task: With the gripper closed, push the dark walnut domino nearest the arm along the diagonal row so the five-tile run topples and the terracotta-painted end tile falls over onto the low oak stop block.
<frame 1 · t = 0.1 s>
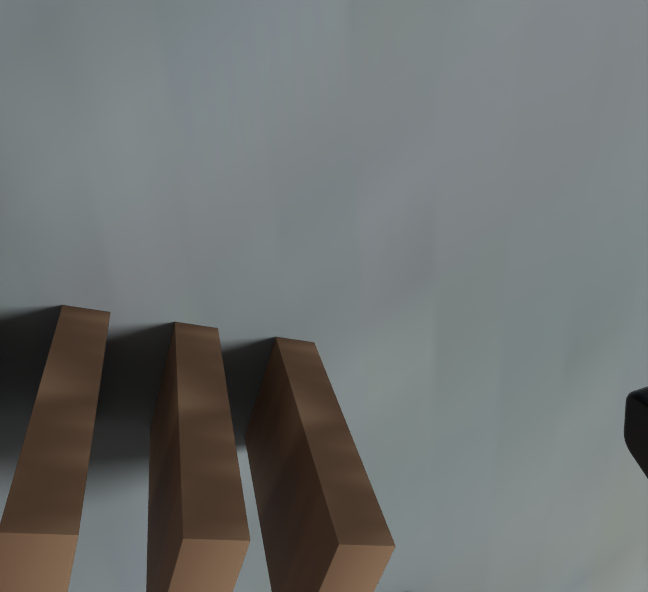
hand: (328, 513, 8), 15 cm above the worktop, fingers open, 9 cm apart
domino 2: (183, 379, 24), on the worktop
domino 1: (278, 391, 25), on the worktop
domino 3: (76, 367, 23), on the worktop
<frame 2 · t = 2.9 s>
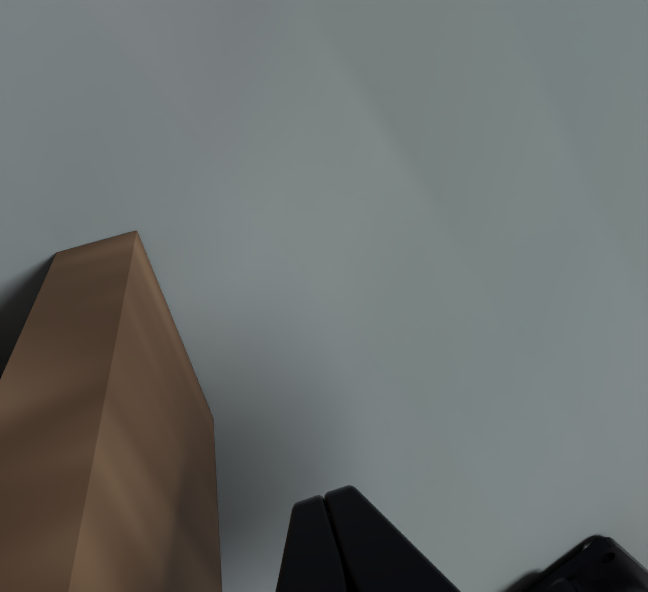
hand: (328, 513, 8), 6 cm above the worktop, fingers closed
domino 1: (142, 343, 13), on the worktop, touching gripper
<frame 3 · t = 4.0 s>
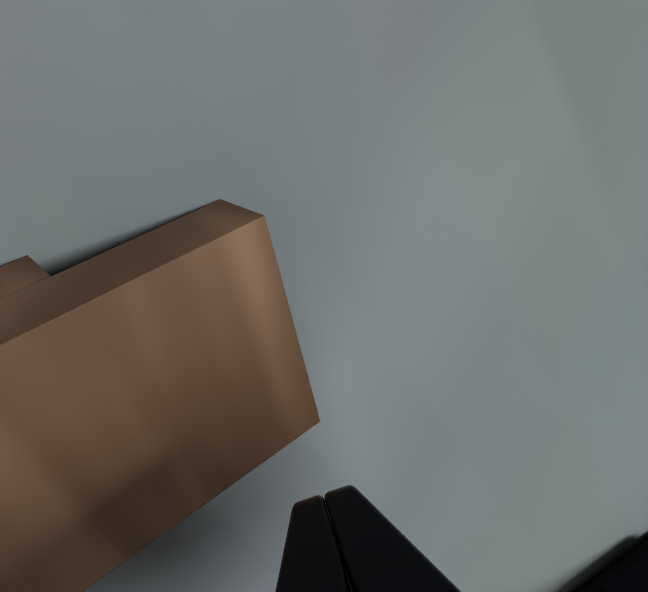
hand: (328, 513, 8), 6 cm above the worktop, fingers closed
domino 2: (91, 372, 13), point 1 cm above the worktop, tilted 64°, touching domino 1, domino 3
domino 1: (272, 316, 13), point 1 cm above the worktop, tilted 64°, touching domino 2
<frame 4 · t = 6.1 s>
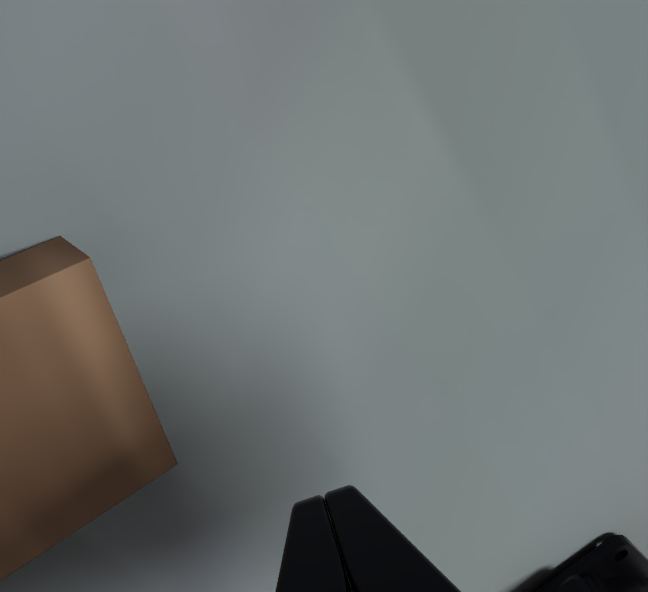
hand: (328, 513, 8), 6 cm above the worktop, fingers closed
domino 1: (122, 356, 12), point 1 cm above the worktop, tilted 64°, touching domino 2
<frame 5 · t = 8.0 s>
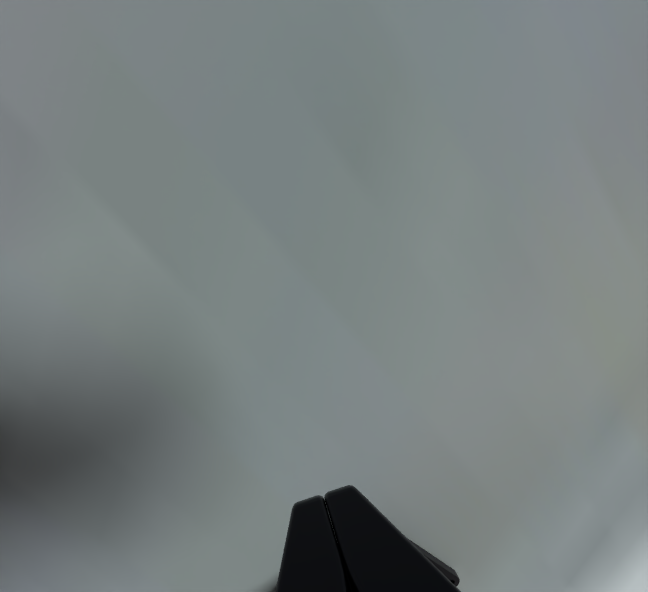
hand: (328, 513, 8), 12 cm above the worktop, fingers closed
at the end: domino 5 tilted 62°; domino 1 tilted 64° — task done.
